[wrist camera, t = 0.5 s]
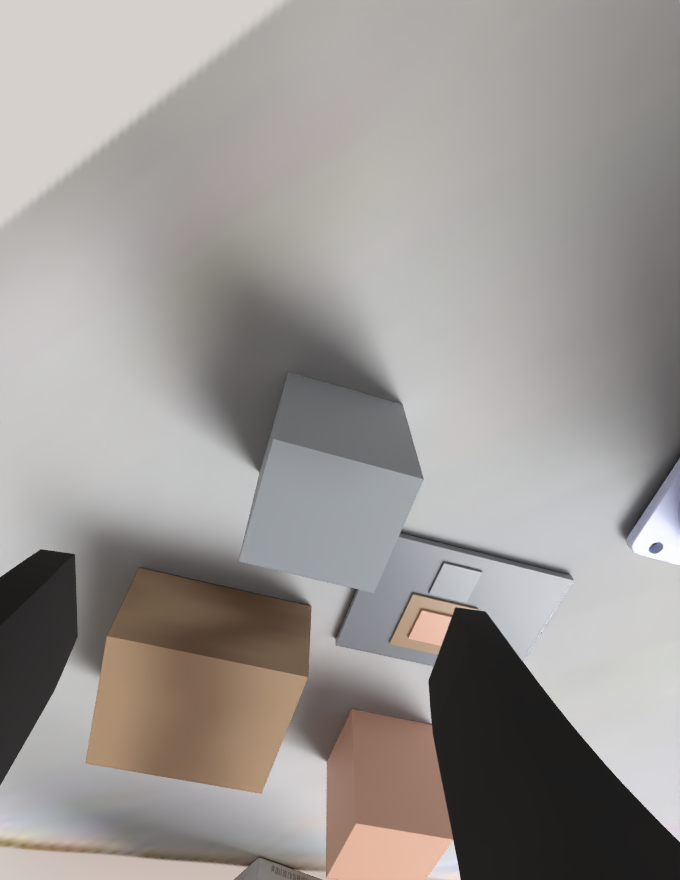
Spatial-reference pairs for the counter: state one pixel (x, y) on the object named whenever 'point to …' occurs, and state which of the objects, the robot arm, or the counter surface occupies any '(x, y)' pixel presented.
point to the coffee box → (271, 872)
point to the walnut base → (199, 682)
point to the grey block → (332, 485)
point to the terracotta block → (384, 801)
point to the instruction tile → (448, 600)
